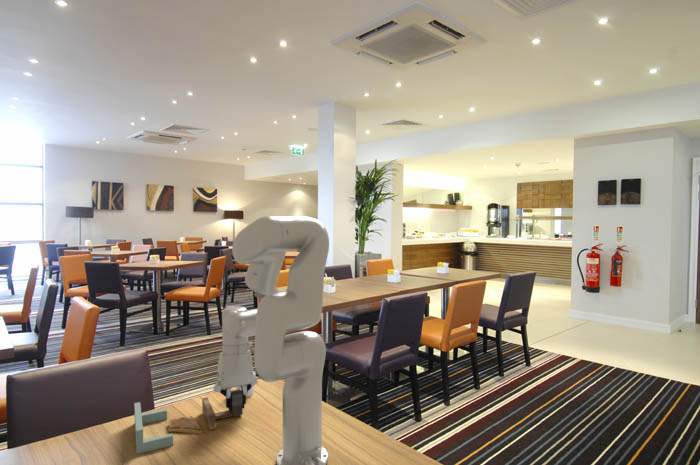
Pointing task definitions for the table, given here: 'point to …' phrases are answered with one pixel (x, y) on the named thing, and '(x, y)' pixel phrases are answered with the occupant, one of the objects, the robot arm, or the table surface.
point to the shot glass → (249, 390)
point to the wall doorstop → (236, 411)
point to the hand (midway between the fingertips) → (236, 407)
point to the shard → (184, 425)
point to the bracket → (139, 420)
